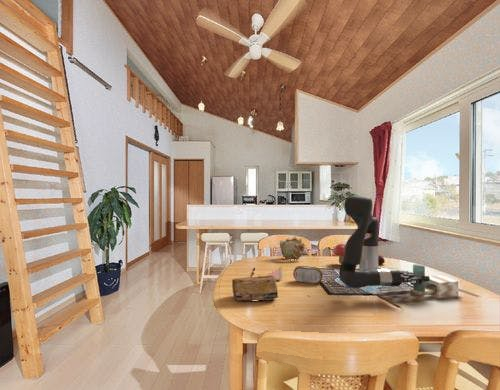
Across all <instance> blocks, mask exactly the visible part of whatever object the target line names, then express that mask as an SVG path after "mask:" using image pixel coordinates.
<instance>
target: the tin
mask: <svg viewBox="0 0 500 390" xmlns="http://www.w3.org/2000/svg"><path fill="white" fill-rule="evenodd" d="M292 273H293V278H294V280H295V281H296V282H298V281H299V282H298V283H302V282H307V283H306V284H311V283H314V284H313V285H317V284H319V283H320V282H321V281H322V280H323V272H322V270H321V269H320V268H318V267H316V266H307V265H299V266H298V265H297V266H295V268H294V270H293V272H292Z"/></svg>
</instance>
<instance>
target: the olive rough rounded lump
mask: <svg viewBox="0 0 500 390" xmlns="http://www.w3.org/2000/svg"><path fill="white" fill-rule="evenodd" d="M305 247H307V246H306V245H305V243H303V241H302V238H300V239H298V238H297V236H293V237H292V238H290V237H288V238H286V239H285V240H280V241H279V248H280V252H281V255H282V256H283V257H285V258H286V259H287V260H288V259H290V260H289V261H291V259H294V260H293V261H297V260H298V259H299V260H300V258H301V257H302V256H303V255H304V250H305ZM283 257H282V258H283ZM295 259H296V260H295Z"/></svg>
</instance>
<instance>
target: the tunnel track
mask: <svg viewBox="0 0 500 390" xmlns="http://www.w3.org/2000/svg"><path fill="white" fill-rule="evenodd" d="M428 276H429V275H428ZM429 277H430V281H429V282H425V287H430V286H437V294H434V295H422V296H414V295H412V294H410V288H409V289H396V290H386V291H385V290H384V291H379V292H377V294H376V297H377V298H379V299H380V300H383V301H384V302H386V303H388V304H390V305H392V306H394V307H396V308H398V309H399V308H402V306H400V305H403V304H412V303H414V304H416V303H423V302H426V303H427V302H436V301H445V300H446V301H447V300H448V301H449V300H455V299H456V300H457V299H465V297H464V296H462V295H459V292H461V293H464V294H467V295H470V296H472V297H476V298H477V297H478V298H480V297H482V296H481V295H478V294H475V293H473V292H470V291H468V290H467V291H466V290H464V289H461V288H459V281H458V280H457V279H456V280H455V279H451V278H449V277H446V276H444V275H440V274H439V275H430V276H429Z"/></svg>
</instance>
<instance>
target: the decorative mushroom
mask: <svg viewBox="0 0 500 390" xmlns="http://www.w3.org/2000/svg"><path fill="white" fill-rule="evenodd" d="M346 243H347V242H339V243H338V244H336V246H335V247H334V248H333V254H334V255H336V256H338V263H339V264H340V265H342V262H343V259H344V253H345V246H346Z"/></svg>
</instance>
